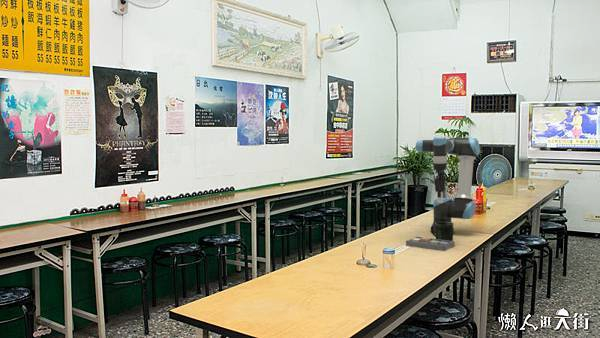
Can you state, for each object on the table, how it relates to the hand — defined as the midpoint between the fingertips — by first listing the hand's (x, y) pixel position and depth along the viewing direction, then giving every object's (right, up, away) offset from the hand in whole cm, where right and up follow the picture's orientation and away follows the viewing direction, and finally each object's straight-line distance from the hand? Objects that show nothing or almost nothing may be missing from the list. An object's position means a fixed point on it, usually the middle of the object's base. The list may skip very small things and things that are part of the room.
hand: (440, 202), depth 308 cm
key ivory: (-13, -25, +4) cm, 28 cm away
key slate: (0, -25, -7) cm, 26 cm away
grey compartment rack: (-6, -27, -1) cm, 27 cm away
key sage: (-4, -25, -3) cm, 26 cm away
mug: (+5, -25, +13) cm, 29 cm away
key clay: (-9, -24, 0) cm, 25 cm away
